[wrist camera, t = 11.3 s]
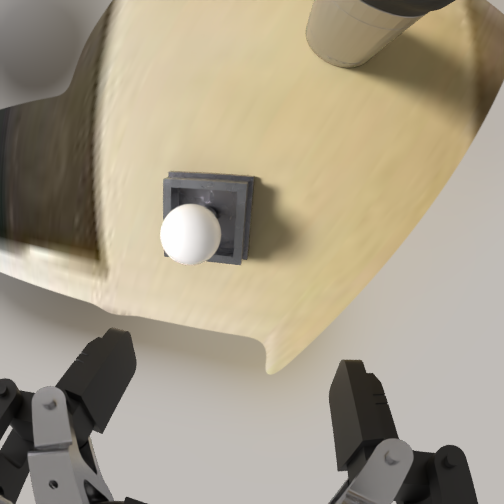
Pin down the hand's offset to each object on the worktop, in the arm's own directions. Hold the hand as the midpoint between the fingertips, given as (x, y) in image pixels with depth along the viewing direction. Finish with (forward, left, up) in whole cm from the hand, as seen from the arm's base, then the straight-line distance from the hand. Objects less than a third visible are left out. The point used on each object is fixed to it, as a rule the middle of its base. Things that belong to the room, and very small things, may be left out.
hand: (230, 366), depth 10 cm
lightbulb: (+2, -7, -27) cm, 28 cm away
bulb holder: (+2, -7, -28) cm, 29 cm away
